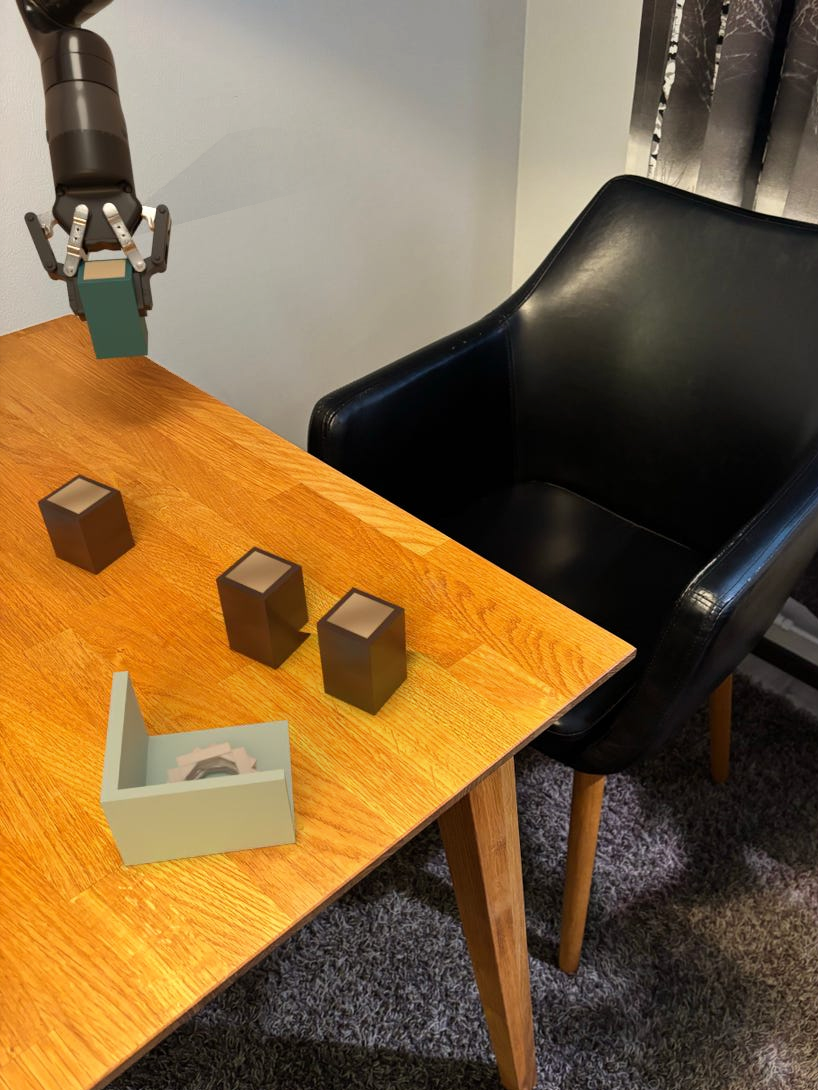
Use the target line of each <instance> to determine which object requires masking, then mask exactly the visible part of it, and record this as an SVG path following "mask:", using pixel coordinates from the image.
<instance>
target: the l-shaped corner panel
mask: <svg viewBox="0 0 818 1090" xmlns="http://www.w3.org/2000/svg"><path fill="white" fill-rule="evenodd" d="M112 673H113V674H112V682H111V691H110V701H109V702H110V703H109V712H108V721H107V722H108V723H107V730H106V731H107V732H106V740H105V749H104V760H103V770H102V778H101V788H100V798H99V803H100V804H99V805H100V807H101V809H102V811H103V814H104V817H105V820H106V821H107V822H106V823H107V824H108V826H109V829H110V832H111V834H112V837H113V839H114V841H115V845H116V847H117V849H118V852H119V855H120V856H121V861H122V862H123V865H124V867H131V866H136V865H144V864H151V863H159V862H166V861H167V862H168V861H173V860H180V859H188V858H194V857H202V856H210V855H211V856H212V855H216V854H217V855H218V854H225V853H232V852H240V851H245V850H246V851H247V850H253V849H261V848H269V847H276V846H283V845H284V846H285V845H291V844H296V843H297V839H296V824H295V823H296V821H295V809H294V794H293V793H294V791H293V777H292V763H291V762H292V761H291V747H290V746H291V745H290V733H289V732H290V730H289V720H288V719H284V720H274V721H267V722H266V721H265V722H259V723H250V724H241V725H234V726H226V727H224V726H223V727H216V728H209V729H200V730H191V731H183V732H175V733H166V734H156V735H150V736H149V733H148V729H147V726H146V723H145V720H144V717H143V714H142V710H141V708H140V704H139V701H138V698H137V695H136V692H135V688H134V684H133V682H132V679H131V675H130V672H129V670H123V671H115V672H112Z"/></svg>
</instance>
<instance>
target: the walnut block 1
mask: <svg viewBox="0 0 818 1090" xmlns="http://www.w3.org/2000/svg"><path fill="white" fill-rule="evenodd" d="M37 505H38V508H39V511H40V514H41V517H42V520H43V523H44V525H45V529H46V531H47V535H48V537H49V541H50V543H51V545H52V548H53V549H52V550H54V555H55V557H56V558H58V559H60V560H62V561H64V562H66V563H69V564H70V565H73V566H75V567H77V568H79V569H82V570H83V571H86V572H88V573H90V574H92V575H95V576H98V575H99V574H100V573H102V572H103V571H104V570H106V569H107V568H108V567H110V566H111V565H112V564H113V563H115V562H116V561H117V560H119V559H120V558H121V557H123V556H124V555H126V553H128V552H129V551H130V550H132V549H133V548H134V547H135V546H136V543H135V540H134V536H133V532H132V529H131V525H130V521H129V518H128V514H127V510H126V507H125V503H124V499H123V496H122V492H121V490H119V489H117V488H114V487H111V486H110V485H107V484H105V483H102V482H99V481H97V480H95V479H93V478H90V477H87V476H85V475H83V474H80V473H79V474H77V475H76V476H74V477H73V478H71V479H69V480H68V481H67V482H65V483H64V484H62V485H61V486H59V487H57V488H56V489H55V490H53V491H52V492H50V493H49V494H47V495H46V496H44V497H43V498H41V499H39V500H38V501H37Z"/></svg>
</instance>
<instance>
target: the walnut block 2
mask: <svg viewBox="0 0 818 1090" xmlns="http://www.w3.org/2000/svg"><path fill="white" fill-rule="evenodd" d="M215 583H216V587H217V592H218V597H219V602H220V607H221V611H222V617H223V622H224V628H225V631H226V636H227V641H228V644H229V645H228V646H229V648H230V650H232V651H235V652H237V653H239V654H241V655H243V656H245V657H248V658H250V659H252V660H254V661H256V662H258V663H260V664H263V665H265V666H266V667H269V668H271V669H273V670H277V669H278V668H280V666H281V665H282V664H283V663H284V662H285V661H287V659H288V658H289V657H290V656H291V655H292V654H293V653H294V652H295V651H296V650H297V649H298V648H299V647H300V646H301V645H302V644H304V642H305V641H306V640H307V639H308V638H309V637H310V636H311V633H310V632H306V631H301V630H302V629H303V628H304V626H306V625H307V623H309V621H310V620H309V612H308V604H307V596H306V590H305V589H306V588H305V580H304V572H303V567H302V565H301V564H298V563H296V562H293V561H291V560H289V559H286V558H284V557H281V556H279V555H276V554H275V553H271V552H269V551H267V550H264V549H262V548H260V547H257V546H252V547H251V548H250V549H249V550H248V551H247V552H246V553H244V554H243V555H242V556H241V557H240V558H239V559H237V560H236V561H235V562H233V564H232V565H230V566H229V567H228V568H226V570H225V571H223V572H222V573H221V574H220V575H218V576H217V577H216V578H215Z"/></svg>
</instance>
